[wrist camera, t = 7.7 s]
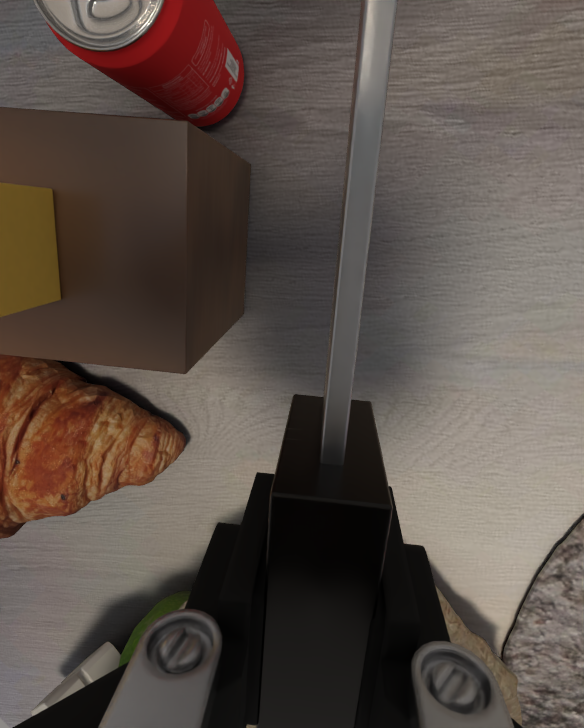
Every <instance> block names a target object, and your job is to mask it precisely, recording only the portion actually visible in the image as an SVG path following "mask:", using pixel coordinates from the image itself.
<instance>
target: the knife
mask: <svg viewBox="0 0 584 728" xmlns="http://www.w3.org/2000/svg"><path fill="white" fill-rule="evenodd" d="M397 1H398V0H361V10H360V20H359V31H358V41H357V52H356V62H355V73H354V83H353V94H352V104H351V115H350V125H349V136H348V146H347V157H346V167H345V178H344V188H343V199H342V209H341V220H340V230H339V240H338V251H337V261H336V272H335V282H334V293H333V303H332V314H331V324H330V335H329V345H328V356H327V366H326V377H325V387H324V397H318V396H307V395H297V394H295V395H294V396H293V398H292V403H291V407H290V411H289V416H288V420H287V424H286V428H285V433H284V437H283V441H282V446H281V450H280V454H279V458H278V463H277V467H276V471H275V476H274V480H273V484H272V488H271V493H270V504H269V521H268V538H267V555H266V571H265V588H264V617H263V633H262V650H261V666H260V683H259V699H258V715H257V726H256V728H355V723H356V717H357V710H358V704H359V698H360V691H361V685H362V679H363V672H364V666H365V660H366V653H367V647H368V641H369V634H370V628H371V622H372V619H374V618H375V615H376V610H377V604H378V598H379V592H380V585H381V579H382V573H383V567H384V560H385V554H386V548H387V542H388V536H389V529H390V523H391V517H392V511H393V506H392V501H391V496H390V491H389V486H388V482H387V477H386V472H385V467H384V462H383V457H382V452H381V447H380V442H379V438H378V433H377V428H376V423H375V418H374V413H373V408H372V404H371V402H370V401H360V400H351V397H352V388H353V380H354V371H355V363H356V354H357V345H358V337H359V328H360V320H361V311H362V302H363V294H364V285H365V277H366V268H367V259H368V251H369V242H370V234H371V225H372V216H373V208H374V199H375V191H376V182H377V173H378V165H379V156H380V148H381V139H382V130H383V122H384V113H385V105H386V96H387V87H388V79H389V70H390V62H391V53H392V44H393V36H394V27H395V19H396V10H397Z"/></svg>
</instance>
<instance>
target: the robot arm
mask: <svg viewBox="0 0 584 728" xmlns="http://www.w3.org/2000/svg"><path fill="white" fill-rule="evenodd" d="M274 476H275V474H268V473H258V472H257V474H256V477H255V480H254V483H253V487H252V490H251V493H250V497H249V500H248V503H247V507H246V510H245V513H244V516H243V520H242V523H241V525H237V524H228V523H218V524H217V526H216V528H215V530H214V533H213V535H212V538H211V541H210V543H209V546H208V548H207V551H206V554H205V556H204V559H203V561H202V564H201V567H200V569H199V572H198V574H197V577H196V580H195V582H194V585H193V587H192V590H191V593H190V595H189V598H188V600H187V603H186V606H185V608H184V609H179V610H175V611H171V612H168V613H166V614H164V615H162V616H160V617H159V618H157V619H156V620H155V621H154V622H152V623H151V624H150V625H149V626H148V627H147V629H146V630H145V632H144V633H143V635H142V636H141V638H140V640H139V642H138V644H137V646H136V649H135V651H134V653H133V655H132V657H131V659H130V661H129V662H127V663H125V664H124V665H122V666H120V667H118V668H117V669H115V670H113V671H111V672H109V673H108V674H106V675H104V676H102V677H101V678H99V679H97V680H95V681H94V682H92V683H90V684H88V685H87V686H85V687H83V688H81V689H80V690H78V691H76V692H74V693H73V694H71V695H69V696H67V697H66V698H64V699H62V700H60V701H59V702H57V703H55V704H53V705H52V706H50V707H48V708H46V709H45V710H43V711H41V712H39V713H38V714H36V715H34V716H32V717H31V718H29V719H27V720H25V721H24V722H22V723H20V724H18V725H17V726H15V727H13V728H246V726H247V724H248V725H255V726H257V715H258V699H259V683H260V666H261V650H262V633H263V617H264V588H265V571H266V555H267V538H268V521H269V504H270V493H271V488H272V484H273V480H274ZM389 491H390V496H391V501H392V506H393V511H392V517H391V523H390V529H389V536H388V542H387V548H386V554H385V560H384V567H383V573H382V579H381V585H380V592H379V598H378V604H377V610H376V615H375V618H374V619H372V622H371V628H370V634H369V641H368V647H367V653H366V660H365V666H364V672H363V679H362V685H361V691H360V698H359V704H358V710H357V717H356V723H355V728H523V727H522V726H521V725H520V724H518V723H517V722H516V721H515V720H514V719H513V718H511V717H510V714H509V711H508V708H507V706H506V703H505V700H504V697H503V695H502V692H501V689H500V686H499V684H498V682H497V680H496V678H495V676H494V674H493V672H492V671H491V670H490V669H489V667H488V666H487V665H486V664H485V663H484V661H483V660H482V659H480V658H479V657H478V656H477V655H475V654H474V653H473V652H471V651H470V650H468V649H466V648H464V647H462V646H460V645H458V644H455V643H451V641H450V637H449V633H448V630H447V626H446V623H445V619H444V615H443V612H442V608H441V604H440V601H439V597H438V594H437V590H436V586H435V583H434V579H433V576H432V572H431V568H430V565H429V561H428V558H427V554H426V551H425V548H424V547H423V546H419V545H411V544H404V543H403V538H402V533H401V529H400V524H399V519H398V515H397V510H396V506H395V501H394V496H393V492H392V488H391V487H389Z"/></svg>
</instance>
